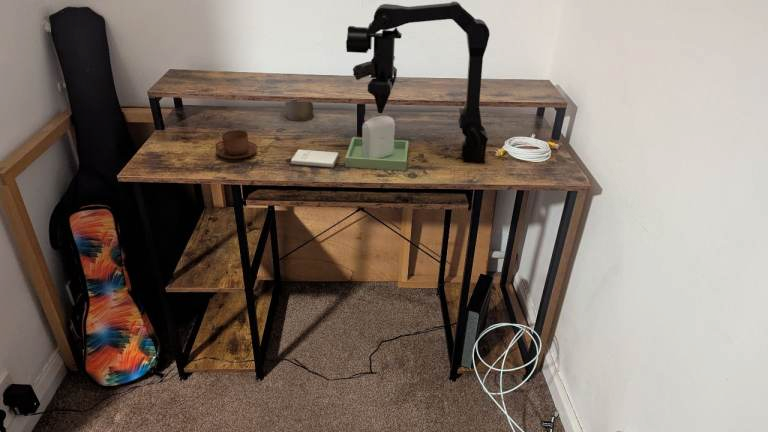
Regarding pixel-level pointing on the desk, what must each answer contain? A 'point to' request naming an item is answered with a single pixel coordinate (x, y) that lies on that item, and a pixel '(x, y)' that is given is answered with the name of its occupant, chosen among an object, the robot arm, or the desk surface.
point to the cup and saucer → (235, 145)
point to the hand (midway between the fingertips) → (382, 108)
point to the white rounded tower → (378, 137)
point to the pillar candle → (299, 111)
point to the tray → (389, 162)
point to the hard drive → (315, 158)
